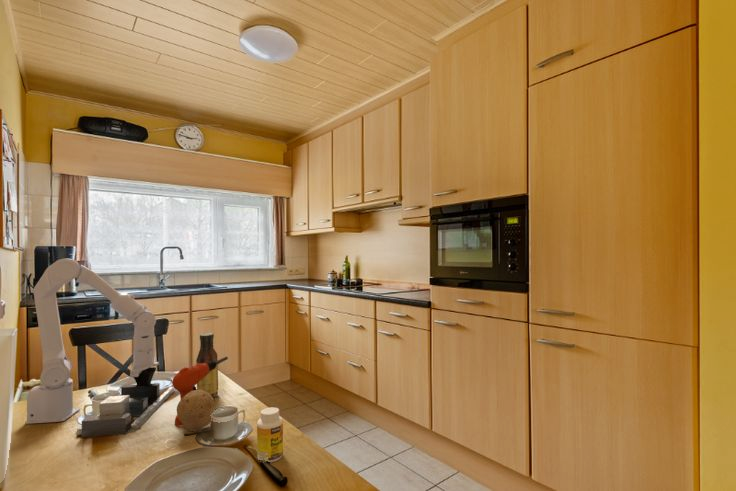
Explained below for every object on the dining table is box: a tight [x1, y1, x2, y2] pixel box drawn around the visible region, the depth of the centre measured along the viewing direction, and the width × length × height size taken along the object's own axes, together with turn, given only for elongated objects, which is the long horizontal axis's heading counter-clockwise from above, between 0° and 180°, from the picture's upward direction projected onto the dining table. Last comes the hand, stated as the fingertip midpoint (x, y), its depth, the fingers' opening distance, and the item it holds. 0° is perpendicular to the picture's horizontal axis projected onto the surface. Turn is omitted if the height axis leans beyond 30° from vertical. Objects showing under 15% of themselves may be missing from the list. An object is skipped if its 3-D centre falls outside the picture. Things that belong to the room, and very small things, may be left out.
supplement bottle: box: [256, 407, 284, 464], centre depth 85 cm, size 6×6×10 cm
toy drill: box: [171, 356, 229, 427], centre depth 109 cm, size 5×19×15 cm, turn 154°
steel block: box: [98, 395, 129, 415], centre depth 101 cm, size 5×5×7 cm
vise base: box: [76, 386, 175, 438], centre depth 110 cm, size 14×30×4 cm, turn 9°
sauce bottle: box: [195, 332, 219, 399], centre depth 121 cm, size 6×6×20 cm
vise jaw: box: [120, 382, 161, 418], centre depth 112 cm, size 10×12×5 cm
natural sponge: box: [176, 390, 216, 432], centre depth 99 cm, size 9×9×10 cm
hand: (144, 393), depth 120 cm, fingers closed
